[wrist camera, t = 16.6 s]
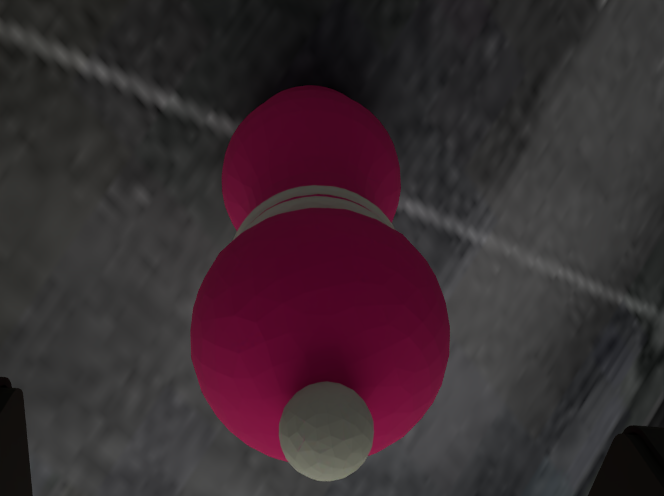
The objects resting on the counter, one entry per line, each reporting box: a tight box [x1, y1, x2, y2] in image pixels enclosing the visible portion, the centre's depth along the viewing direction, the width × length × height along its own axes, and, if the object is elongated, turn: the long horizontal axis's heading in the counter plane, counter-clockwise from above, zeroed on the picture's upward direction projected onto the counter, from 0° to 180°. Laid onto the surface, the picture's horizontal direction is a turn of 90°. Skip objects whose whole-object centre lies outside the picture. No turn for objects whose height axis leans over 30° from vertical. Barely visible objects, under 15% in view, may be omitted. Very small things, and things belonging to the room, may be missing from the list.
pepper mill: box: [191, 85, 450, 481], centre depth 20 cm, size 7×7×20 cm
